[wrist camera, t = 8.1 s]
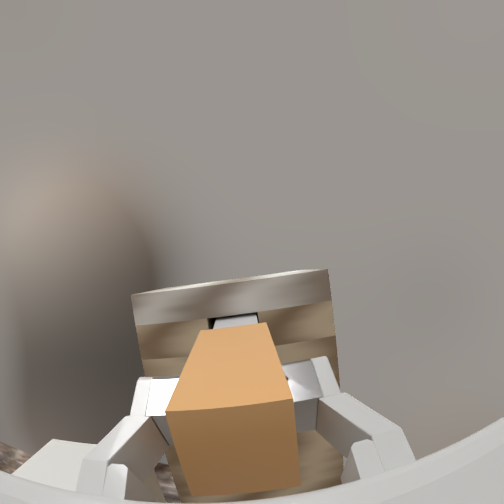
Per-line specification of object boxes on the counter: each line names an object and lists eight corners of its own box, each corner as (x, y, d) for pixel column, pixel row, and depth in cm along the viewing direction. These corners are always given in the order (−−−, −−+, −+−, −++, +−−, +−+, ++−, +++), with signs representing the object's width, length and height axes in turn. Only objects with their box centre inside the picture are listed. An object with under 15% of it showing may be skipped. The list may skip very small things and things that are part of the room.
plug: (191, 495, 7) (164, 411, 7) (218, 352, 20) (210, 307, 20) (301, 485, 7) (293, 398, 7) (264, 346, 20) (258, 301, 20)
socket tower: (214, 579, 17) (131, 295, 18) (219, 520, 27) (168, 287, 28) (341, 563, 17) (327, 269, 19) (321, 507, 27) (298, 270, 29)
